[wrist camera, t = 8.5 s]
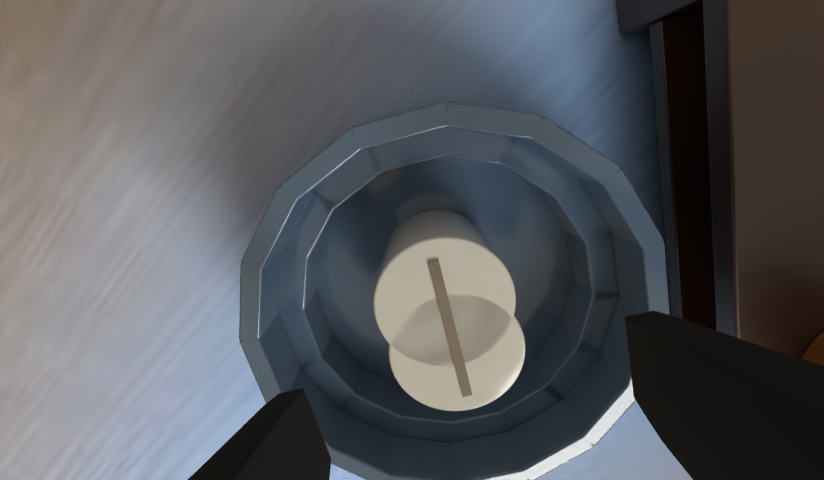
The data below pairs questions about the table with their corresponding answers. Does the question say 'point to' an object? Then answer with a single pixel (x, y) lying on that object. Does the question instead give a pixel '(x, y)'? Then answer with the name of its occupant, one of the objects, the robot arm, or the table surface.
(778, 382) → the robot arm
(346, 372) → the bowl
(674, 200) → the rack
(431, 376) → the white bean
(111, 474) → the table surface
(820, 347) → the brown rounded block
